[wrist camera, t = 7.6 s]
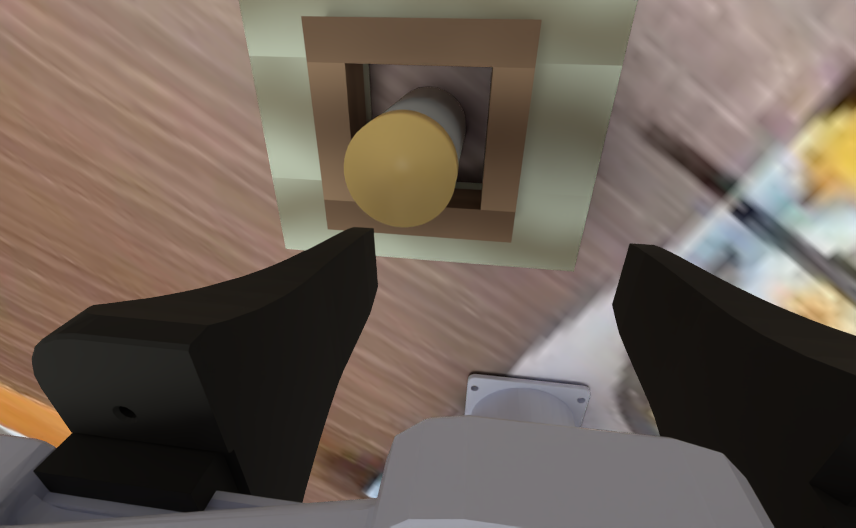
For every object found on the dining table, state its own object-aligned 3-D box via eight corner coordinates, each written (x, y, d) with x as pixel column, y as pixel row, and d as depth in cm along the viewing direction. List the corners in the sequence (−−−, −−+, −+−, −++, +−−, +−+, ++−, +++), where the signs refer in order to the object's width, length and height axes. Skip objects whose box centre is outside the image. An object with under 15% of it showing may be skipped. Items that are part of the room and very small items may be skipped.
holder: (570, 262, 22) (583, 298, 19) (293, 240, 24) (264, 271, 21) (644, -62, 15) (683, -85, 12) (239, -60, 17) (185, -79, 14)
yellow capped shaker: (460, 170, 20) (446, 235, 14) (388, 158, 20) (342, 217, 14) (473, 92, 18) (465, 126, 12) (394, 79, 18) (344, 106, 12)
